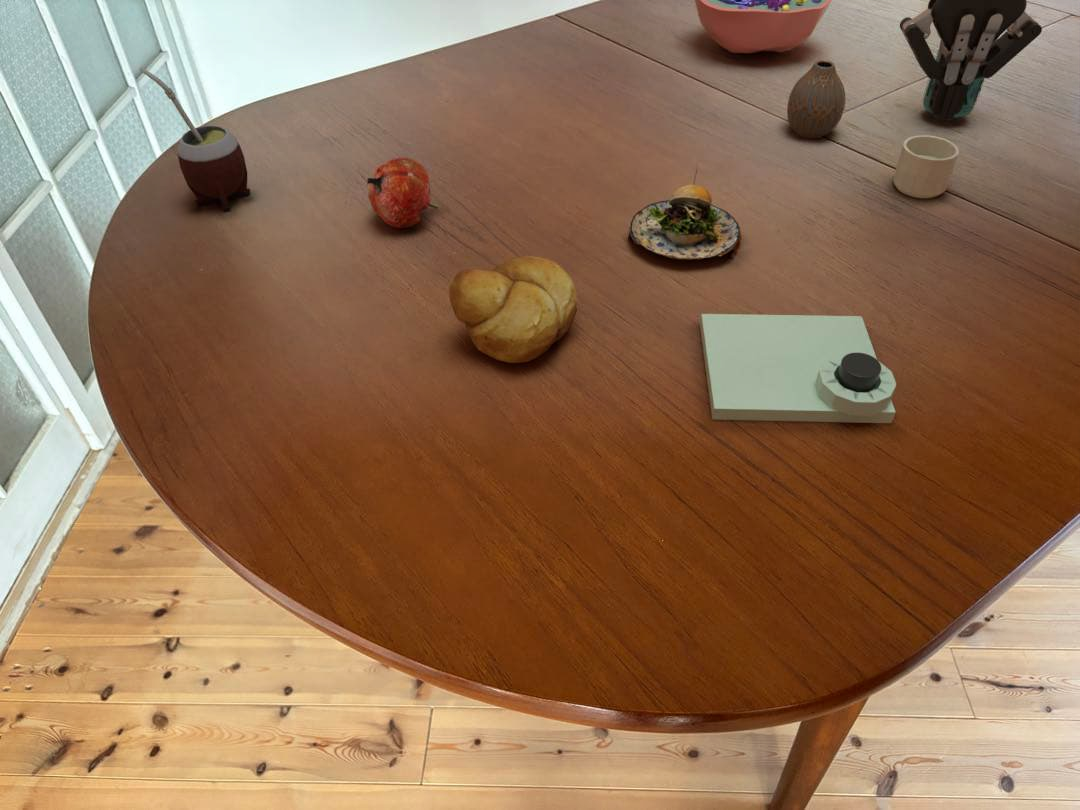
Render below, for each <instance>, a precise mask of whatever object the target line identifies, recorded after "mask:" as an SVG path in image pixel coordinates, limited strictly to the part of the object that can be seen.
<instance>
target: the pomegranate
mask: <svg viewBox="0 0 1080 810" xmlns="http://www.w3.org/2000/svg"><path fill="white" fill-rule="evenodd" d="M368 185H369V187H368V199H369V202H370V205H371V207H372V209H373V211H374V212H375V213H376V214H377V215H379V216H380V217H381V219H382V220H383V222H385V223H386V224H388V225H389V226H391V227H394V228H396V229H405V228H410V227H412V226H414V225H416V224H418V223H419V222H420V221H421V212H423V211H425V210H427V209H428V207H430V208H434V209H436V210H438V209H439V206H437V205H434V204H431V196H430V195H431V183H430V180H429V174H428V171H427V170H426V168H425V167H424V166H423V165H422V164H421V163H420V162H419V161H417V160H415V159H412V158H409V157H396V158H393V159H389V160H388V161H387V162H386V163H385V164H382V165H379V166H378V167H376V170H375V171H374V177H367V178H366V186H368Z"/></svg>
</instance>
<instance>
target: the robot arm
mask: <svg viewBox="0 0 1080 810" xmlns="http://www.w3.org/2000/svg"><path fill="white" fill-rule="evenodd" d="M1027 5H1028V2H1027V0H929V1H928V4H927V9H925V10H923V11H922V12H921V13H919V14H918V15H916V16H915V17H913V18H911V17H909V16H908V17H904V18H902V19H901V21H900V22H899V28H900V31H901V32H902V34H903V35H904V39H905V40H906V42H907V44H908V46H909V47H910V48H909V49H911V52H912V53H913V55H914V57H915V59H916V61H917V63H918V65H919V67H920V69H921V70H922V71H923V73H924V74H925V75H926V77H927V78H928V79H929V80H930V79H935V83H934V87H933V90H932V93H931V97H930V100H929V103H928V104H929V109H930V111H931V112H932V113H931V112H930V113H931V115H932V116H933V117H934V118H935V120H936V121H952V120H953V119H954V118H955V117H954V115H955V114H958V113H959V112H960V111H961V109H962V106H963V103H964V99H965V97H966V94H967V91H968V88H969V85H970V84H971V83H972V82H973V81H974V80H975V79H978V78H981V77H984V79H990V78H992V77H994V75H996V74H997V73H998V72H999V71H1000V70H1001V69H1003V68H1004V67H1005V66H1006V65H1007V64H1008V63H1009V62H1010V61H1012V60H1013V59H1014V58H1015V57H1016V56H1018V54H1020V53H1021V52H1022V51H1023V50H1024V49H1025V48H1026V47H1028V46H1029V45H1030V44H1031V43H1032V42H1033V41H1035V39H1037V38H1038V37H1039V36H1040V35H1041V33H1042V32H1043V27H1042V26H1041V25H1040V24H1039V22H1038V21H1037V20H1035V19H1034V18H1033V17H1032V16H1030V15H1029V14H1027V12H1026V8H1027ZM932 24H933V26H934V28H935V30H936V33H937V36H938V38H939V39H940V42H939V46H938V47H939V48H938V50H939V49H940V56H939V60H938V61H936V57H935V56H934V54H933V52H932V50H931V48H930V47H929V44H928V42H927V41H926V40H927V39H928V38H930V35H931V32H932V31H931V25H932ZM999 36H1000V37H999ZM997 38H998V40H996V39H997ZM995 40H996V41H995ZM994 41H995V42H994ZM992 42H994V43H993V44H992ZM991 44H992V45H991Z"/></svg>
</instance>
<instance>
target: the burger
mask: <svg viewBox="0 0 1080 810" xmlns="http://www.w3.org/2000/svg"><path fill="white" fill-rule="evenodd" d="M697 173H698V168H696V169H695V174H694V180H693V184H687V185H684V186H680V187H679V188H677V189H676V190H675V191H673V193H672V194H671V195H670V197H669V199H668V200H661V201H657V202H653V203H650V204H647V205H645V206H644V207H643V208H642V209H640V210H638V211H637V212H636V213H635V214H634V215H633V216H632V219H631V220H630V223H629V232H628V235H627V239H628V240H630V239H632V241H633V242H634V243H635V244H637V245H640V246H642V247H643V248H645V250H647V251H649V252H652V253H654V254H656V255H658V256H660V255H661V256H664V257H666V258H669V259H675V260H689V261H690V260H702V259H708V258H709V259H710V258H712V257H713V258H714V257H722V256H724V255H726V254H728V253H730V251H731V253H730V258H732V259H734V258H735V257H737V256H738V253H739V252H740V249H741V242H742V231H741V227H740V225H739V223H738V222H737V220H736V218H735V217H734V216H732V215H731V214H730V213H729V212H728V211H727V210H726V209H725V210H724V209H723V208H721V207H717V206H716V205H714V204H712V203H713V202H712V201H713V200H712V196H711V193H710V192H709V191H708V190H707V189H706V188H705V187H703V186H701V185H698V184H695V182H696V178H697Z"/></svg>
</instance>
